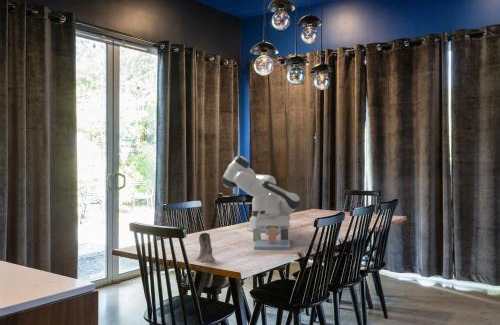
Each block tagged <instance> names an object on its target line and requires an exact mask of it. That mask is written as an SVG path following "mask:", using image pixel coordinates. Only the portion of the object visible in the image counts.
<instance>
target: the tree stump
mask: <svg viewBox="0 0 500 325" xmlns="http://www.w3.org/2000/svg"><path fill="white" fill-rule="evenodd" d="M198 238H199V239H198V241H199V242H198V243H199V245H200V246H199V247H200V251H199V255H198V256H197V257H196V259H195V261H196V263H197V262H199V263H201V262H205V263H210V262H214V261H216V258H214V256H213V248H212V247H213V246H212V240H211V234H210V233H207V232H202V233H200V234H199V237H198Z"/></svg>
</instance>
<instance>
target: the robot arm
mask: <svg viewBox="0 0 500 325" xmlns="http://www.w3.org/2000/svg"><path fill="white" fill-rule="evenodd" d="M249 166H250V162H249V160H248V159H247V158H246V157H244V156H242V155H236V156H235V157H234V158H233V160H232V162H230V163H229V165H228V166H227V168H226V170H225V172H224V174H223V175H222V177H221V180H220V181H221V183H222V184H223V186H224V187H225V188H229V189H235V188H239V189H240V190H242V191H243V192H244V193H246V194H247V195H250V196H251V197H253V198H252V200H251V207H252V210H251V217H250V218H249V227H247V228H246V231H250V232H253V227H256V229H261V233H262V232H263V233H264V232H265V235H266V236H267V235H268V228H269V227H276V236H277V235H278V236H279V235H280V233H281V229H288V230H289V229H290V228H291V226H290V225H291V224H290V220H291V215H292V213H294V212H295V211H296V210H297V209H298V208H299V207H300V206H301V203H302V201H301V200H302V199H301V197H300V196H299V195H298V193H295V192H293V191H289V190H288V189H286V188H283V187H281V186H279V185H277V181H276V178H275V177H274V176H273V175H269V174H256V173H255V171H254V170H253V169H252V168H251V167H249Z"/></svg>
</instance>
